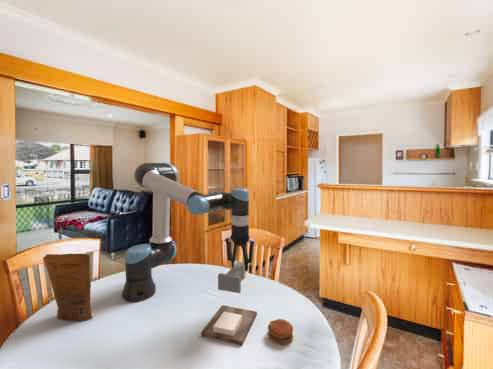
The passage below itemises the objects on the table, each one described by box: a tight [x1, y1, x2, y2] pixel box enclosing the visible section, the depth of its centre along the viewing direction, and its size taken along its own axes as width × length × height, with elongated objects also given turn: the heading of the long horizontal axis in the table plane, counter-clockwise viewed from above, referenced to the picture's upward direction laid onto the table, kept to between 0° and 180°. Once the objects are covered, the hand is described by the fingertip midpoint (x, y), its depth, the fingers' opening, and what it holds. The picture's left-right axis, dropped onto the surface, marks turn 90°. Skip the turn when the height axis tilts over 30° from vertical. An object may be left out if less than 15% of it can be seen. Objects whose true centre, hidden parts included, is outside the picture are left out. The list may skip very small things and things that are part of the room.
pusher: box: [217, 261, 244, 294], centre depth 104 cm, size 9×16×6 cm, turn 162°
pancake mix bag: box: [42, 253, 93, 323], centre depth 102 cm, size 7×19×28 cm, turn 82°
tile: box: [213, 312, 242, 336], centre depth 96 cm, size 8×2×10 cm
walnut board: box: [200, 304, 258, 346], centre depth 99 cm, size 16×19×2 cm
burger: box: [267, 318, 294, 346], centre depth 92 cm, size 10×9×5 cm
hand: (240, 276), depth 109 cm, fingers closed on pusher, 3 cm apart
